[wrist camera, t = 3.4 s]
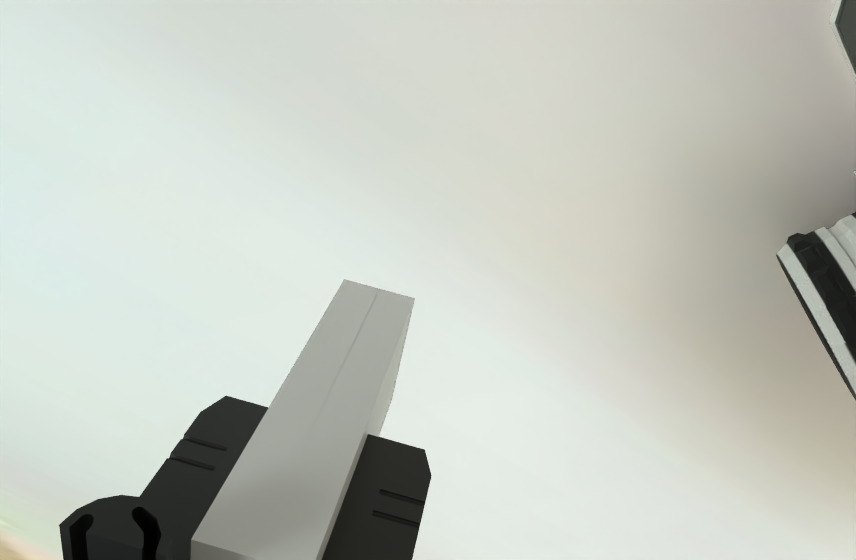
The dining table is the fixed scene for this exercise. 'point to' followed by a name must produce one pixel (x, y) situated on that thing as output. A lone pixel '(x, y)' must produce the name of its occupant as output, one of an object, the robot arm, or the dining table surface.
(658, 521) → the dining table surface
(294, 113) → the dining table surface
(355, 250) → the dining table surface
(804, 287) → the camera
